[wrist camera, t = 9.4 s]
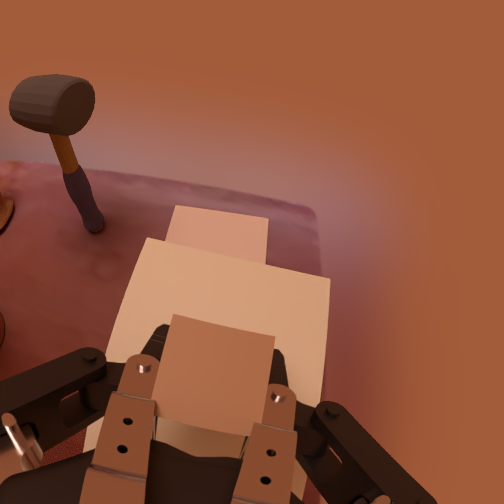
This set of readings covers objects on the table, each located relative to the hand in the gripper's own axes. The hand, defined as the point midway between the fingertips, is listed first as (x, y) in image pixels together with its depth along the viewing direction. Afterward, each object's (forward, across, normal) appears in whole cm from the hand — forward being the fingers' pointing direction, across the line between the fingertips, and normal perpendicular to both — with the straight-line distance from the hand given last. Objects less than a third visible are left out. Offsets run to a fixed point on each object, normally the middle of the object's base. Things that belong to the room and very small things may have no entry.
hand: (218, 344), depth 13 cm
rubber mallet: (+34, +26, +5) cm, 44 cm away
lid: (+3, 0, +6) cm, 6 cm away
